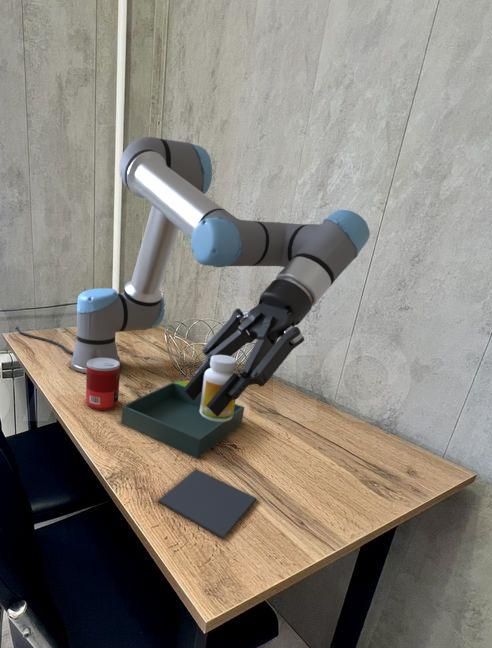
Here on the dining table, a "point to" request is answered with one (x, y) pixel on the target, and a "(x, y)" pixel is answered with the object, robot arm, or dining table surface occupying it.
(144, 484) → the dining table surface
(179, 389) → the dark green tray
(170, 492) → the mat
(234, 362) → the supplement bottle
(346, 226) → the robot arm
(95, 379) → the canned food
